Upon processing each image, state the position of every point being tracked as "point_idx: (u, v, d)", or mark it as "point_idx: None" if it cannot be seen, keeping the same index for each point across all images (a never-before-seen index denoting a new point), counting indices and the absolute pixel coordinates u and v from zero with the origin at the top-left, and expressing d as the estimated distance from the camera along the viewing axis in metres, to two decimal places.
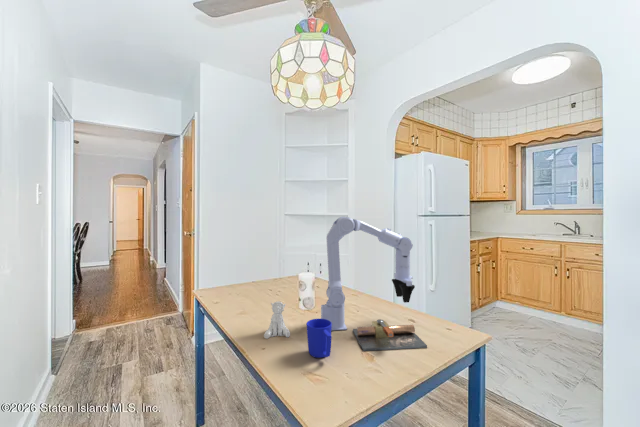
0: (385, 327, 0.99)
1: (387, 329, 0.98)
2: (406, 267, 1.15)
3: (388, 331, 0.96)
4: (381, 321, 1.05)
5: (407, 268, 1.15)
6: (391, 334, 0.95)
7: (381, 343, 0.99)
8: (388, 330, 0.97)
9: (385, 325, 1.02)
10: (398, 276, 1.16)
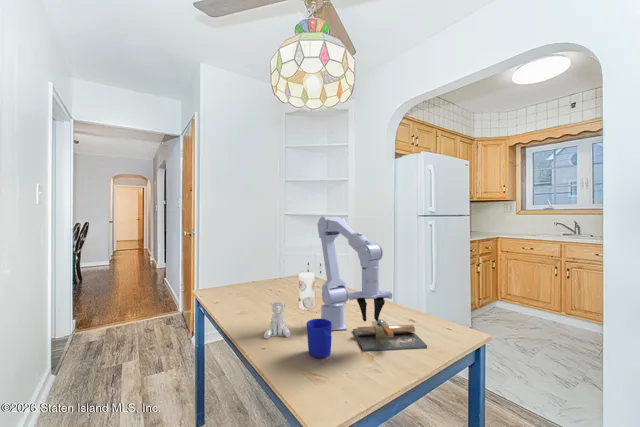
0: (385, 327, 0.99)
1: (387, 329, 0.98)
2: (362, 280, 0.96)
3: (388, 331, 0.96)
4: (381, 321, 1.05)
5: (363, 282, 0.96)
6: (391, 334, 0.95)
7: (381, 343, 0.99)
8: (388, 330, 0.97)
9: (385, 325, 1.02)
10: None
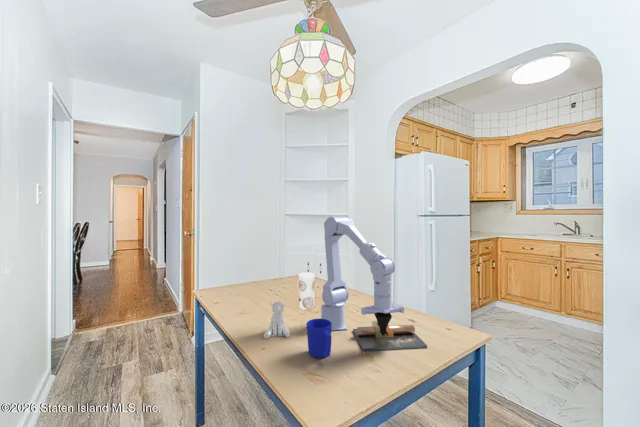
0: None
1: (387, 329, 0.98)
2: (375, 295, 0.97)
3: (388, 331, 0.96)
4: None
5: (376, 296, 0.96)
6: (391, 334, 0.95)
7: (381, 343, 0.99)
8: (388, 330, 0.97)
9: None
10: None
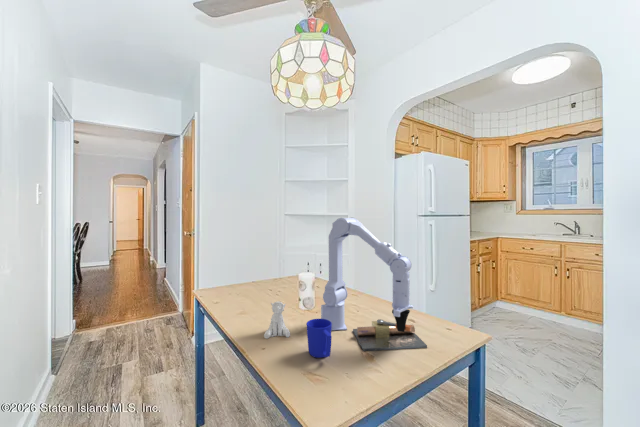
0: None
1: None
2: (400, 294, 0.98)
3: (407, 326, 1.00)
4: (382, 321, 1.06)
5: (402, 295, 0.97)
6: (410, 327, 1.00)
7: (381, 343, 0.99)
8: None
9: None
10: (393, 303, 1.00)
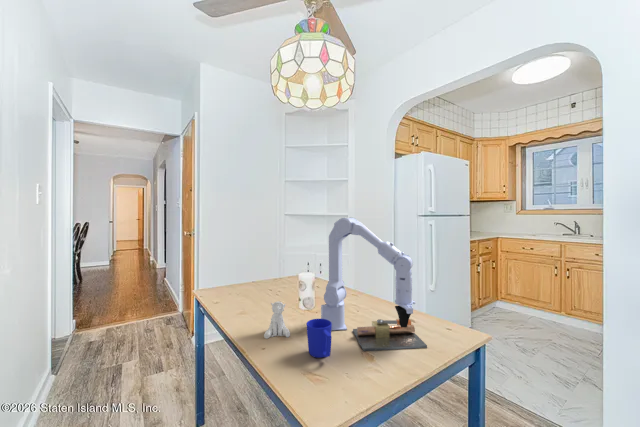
0: (398, 320, 1.05)
1: None
2: (407, 291, 1.01)
3: None
4: (382, 320, 1.06)
5: (408, 292, 1.01)
6: None
7: (381, 343, 0.99)
8: None
9: (391, 320, 1.06)
10: (398, 301, 1.02)
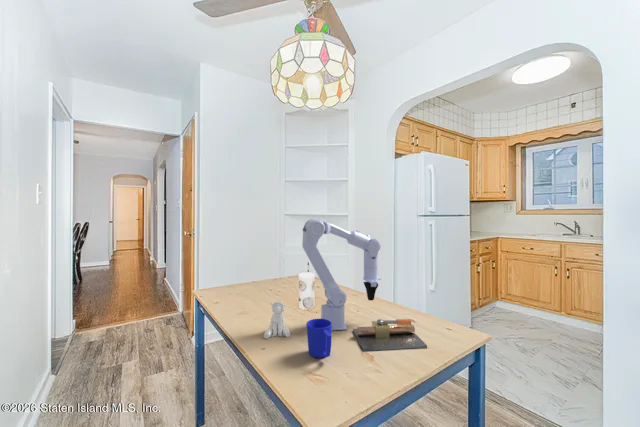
0: (398, 320, 1.05)
1: (403, 320, 1.05)
2: (373, 268, 1.16)
3: (408, 320, 1.05)
4: (382, 320, 1.06)
5: (374, 269, 1.17)
6: None
7: (381, 343, 0.99)
8: (404, 320, 1.05)
9: (391, 320, 1.06)
10: (365, 277, 1.18)
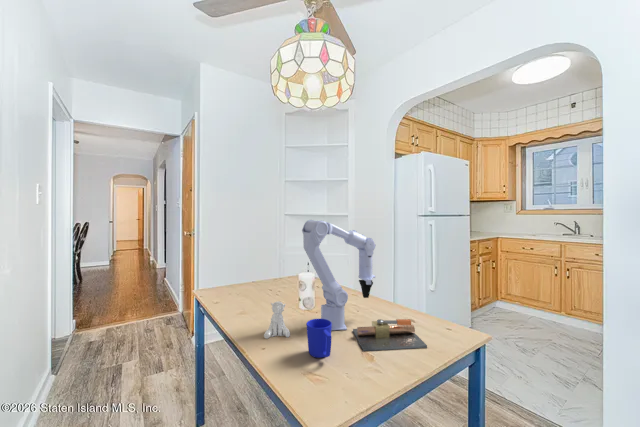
0: (398, 320, 1.05)
1: (403, 320, 1.05)
2: (368, 266, 1.20)
3: (408, 320, 1.05)
4: (382, 320, 1.06)
5: (369, 267, 1.20)
6: None
7: (381, 343, 0.99)
8: (404, 320, 1.05)
9: (391, 320, 1.06)
10: (360, 275, 1.21)
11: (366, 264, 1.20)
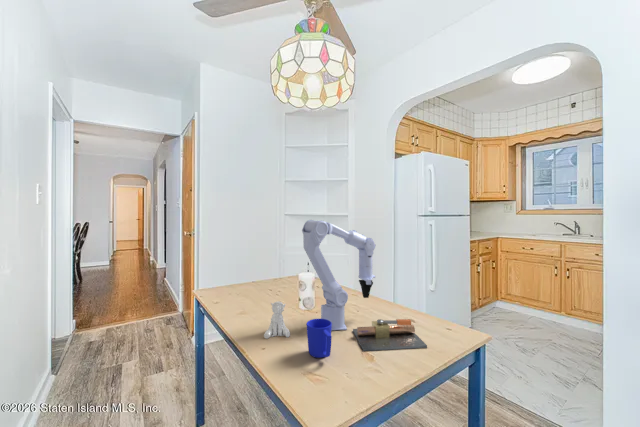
0: (398, 320, 1.05)
1: (403, 320, 1.05)
2: (368, 266, 1.20)
3: (408, 320, 1.05)
4: (382, 320, 1.06)
5: (369, 267, 1.20)
6: None
7: (381, 343, 0.99)
8: (404, 320, 1.05)
9: (391, 320, 1.06)
10: (360, 275, 1.21)
11: (366, 264, 1.20)
